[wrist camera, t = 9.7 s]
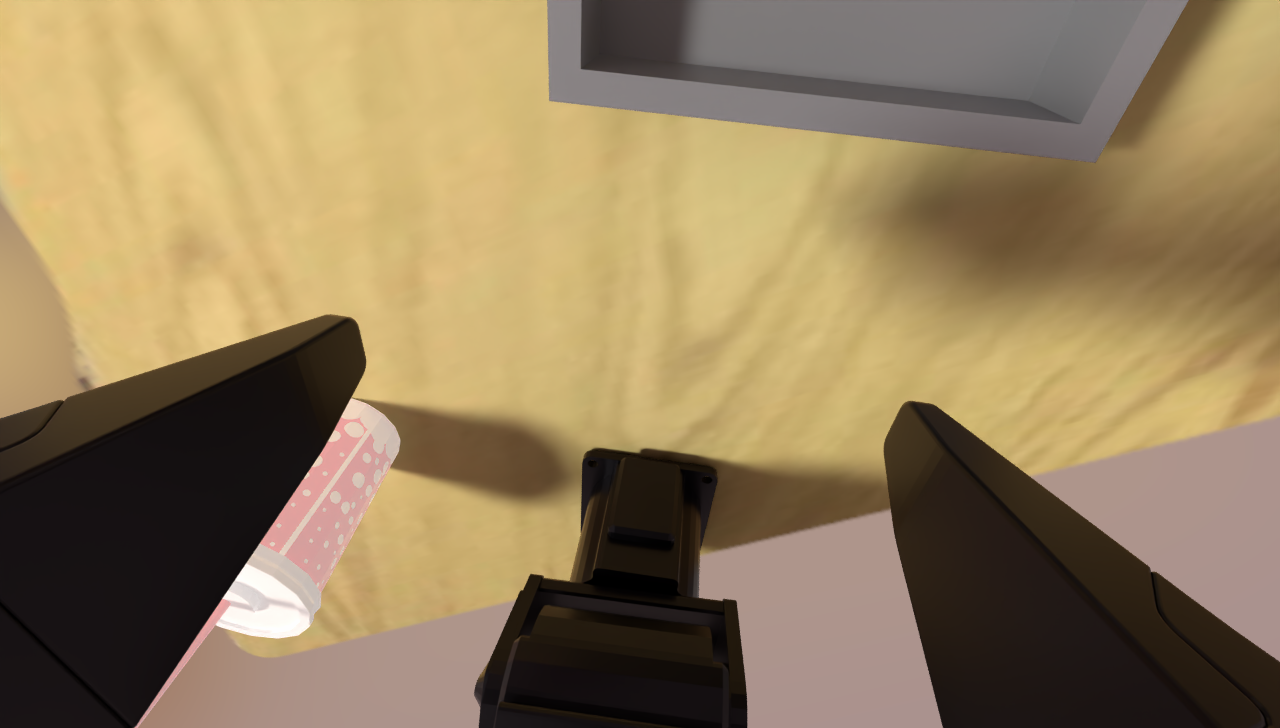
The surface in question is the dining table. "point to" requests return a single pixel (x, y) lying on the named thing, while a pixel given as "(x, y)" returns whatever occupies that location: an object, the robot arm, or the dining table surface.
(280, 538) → the beverage cup
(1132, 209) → the dining table surface
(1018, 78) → the tray
